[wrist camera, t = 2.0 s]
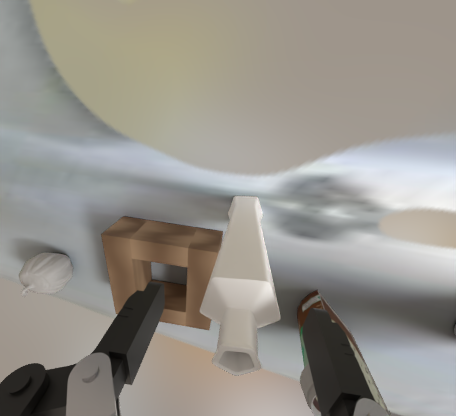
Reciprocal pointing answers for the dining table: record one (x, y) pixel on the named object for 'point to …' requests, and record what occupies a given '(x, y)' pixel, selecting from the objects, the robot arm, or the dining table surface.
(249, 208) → the white faceted vase
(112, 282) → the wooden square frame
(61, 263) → the garlic
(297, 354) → the dining table surface
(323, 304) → the food container
